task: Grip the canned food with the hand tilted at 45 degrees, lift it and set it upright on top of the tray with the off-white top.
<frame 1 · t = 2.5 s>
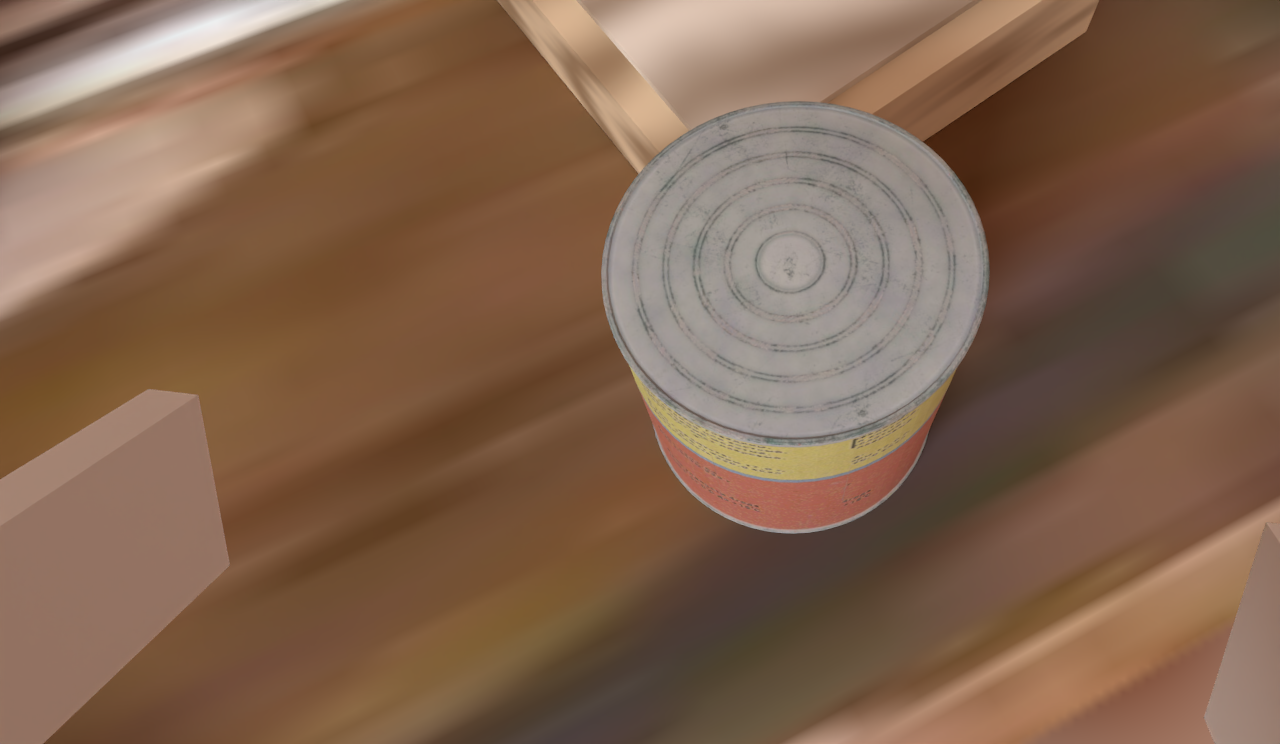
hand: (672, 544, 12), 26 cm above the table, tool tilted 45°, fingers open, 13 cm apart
tray: (771, 11, 47), on the table
canned food: (788, 397, 40), on the table
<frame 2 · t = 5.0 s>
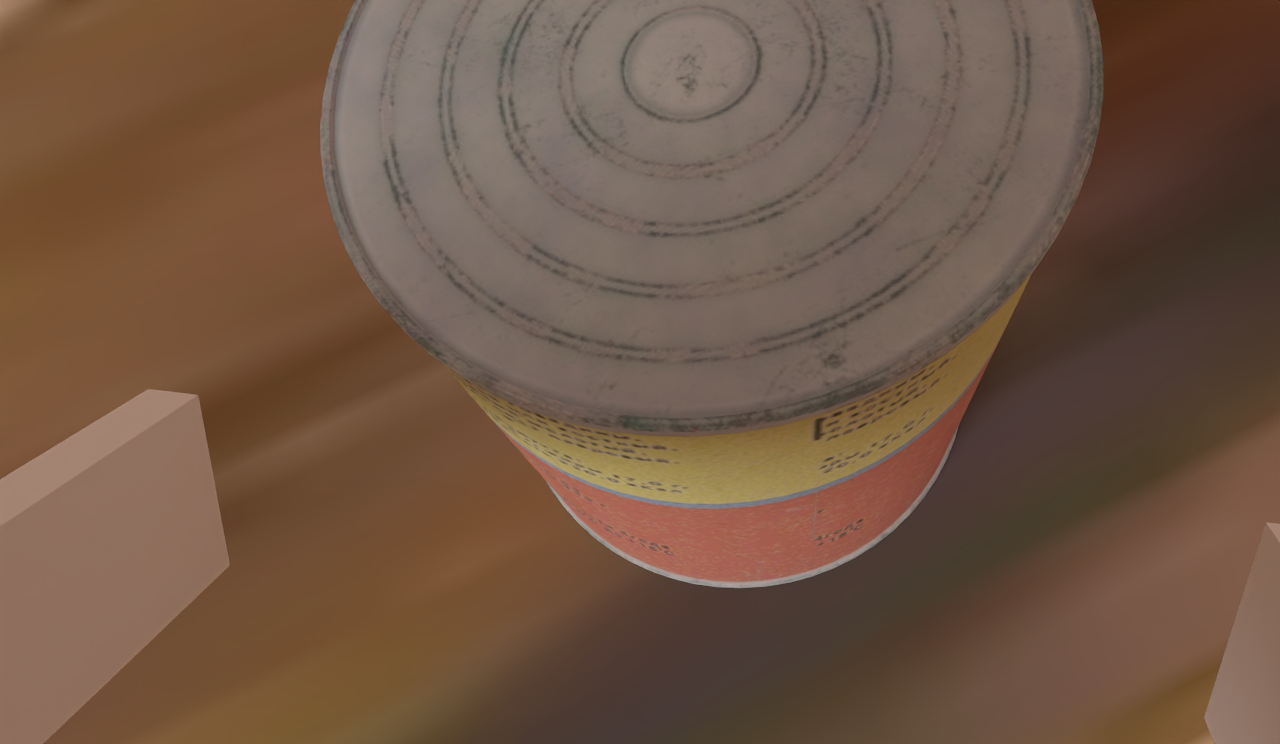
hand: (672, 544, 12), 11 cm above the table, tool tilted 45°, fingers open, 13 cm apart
canned food: (736, 369, 25), on the table
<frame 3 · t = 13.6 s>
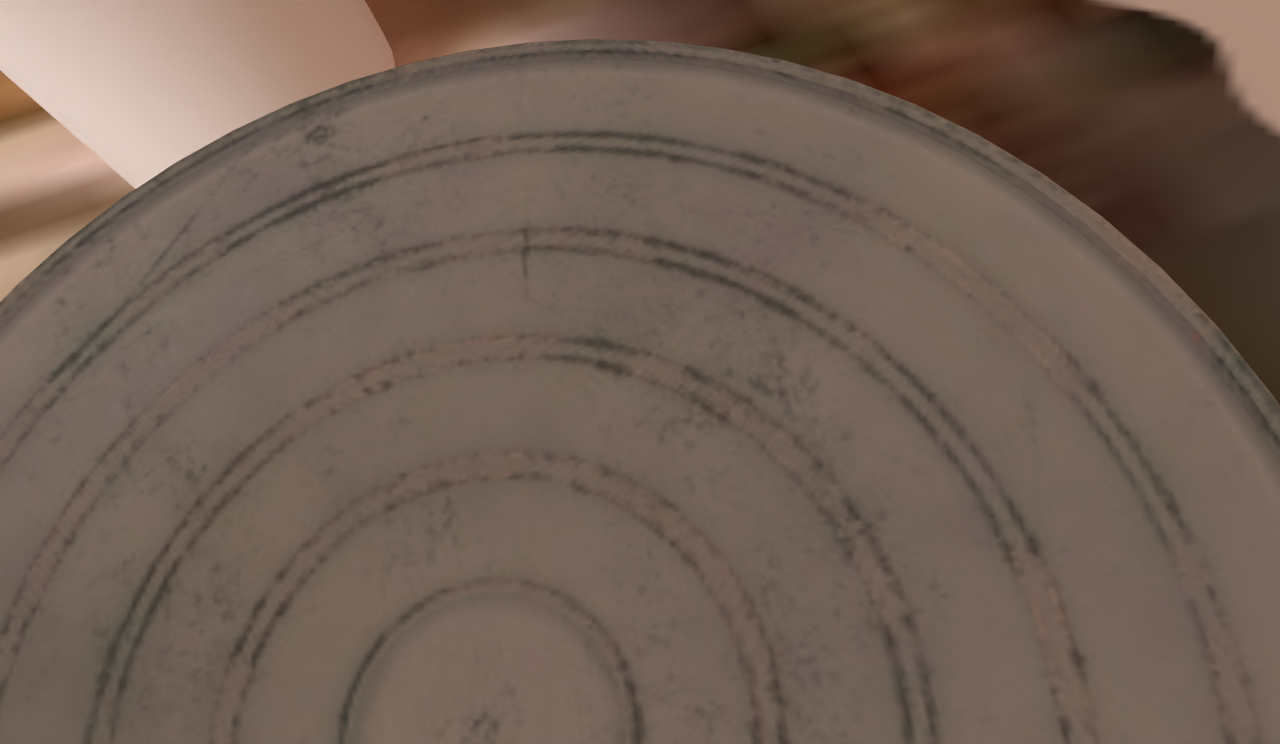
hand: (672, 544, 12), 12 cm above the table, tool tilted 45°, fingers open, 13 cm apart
alcohol: (277, 126, 31), on the table
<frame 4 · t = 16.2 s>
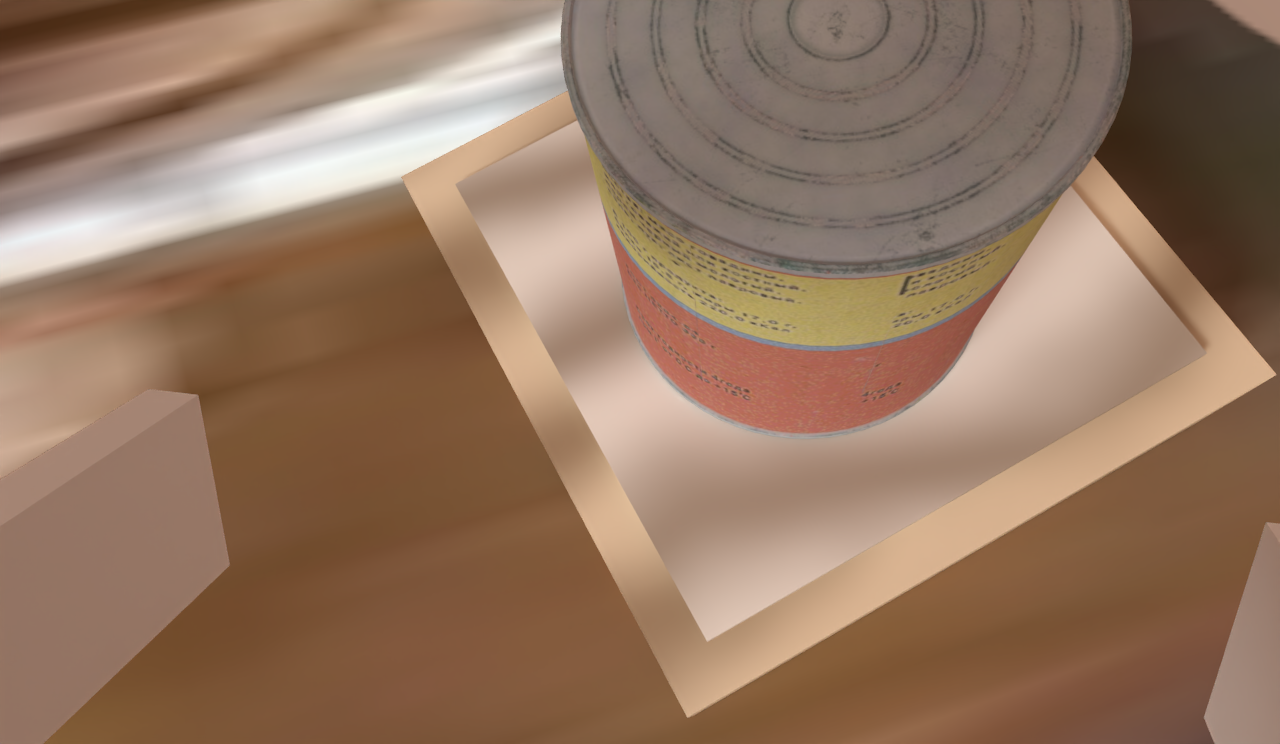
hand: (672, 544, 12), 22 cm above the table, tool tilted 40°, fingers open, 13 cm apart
tray: (795, 324, 36), on the table
canned food: (798, 268, 31), point 5 cm above the table, touching tray
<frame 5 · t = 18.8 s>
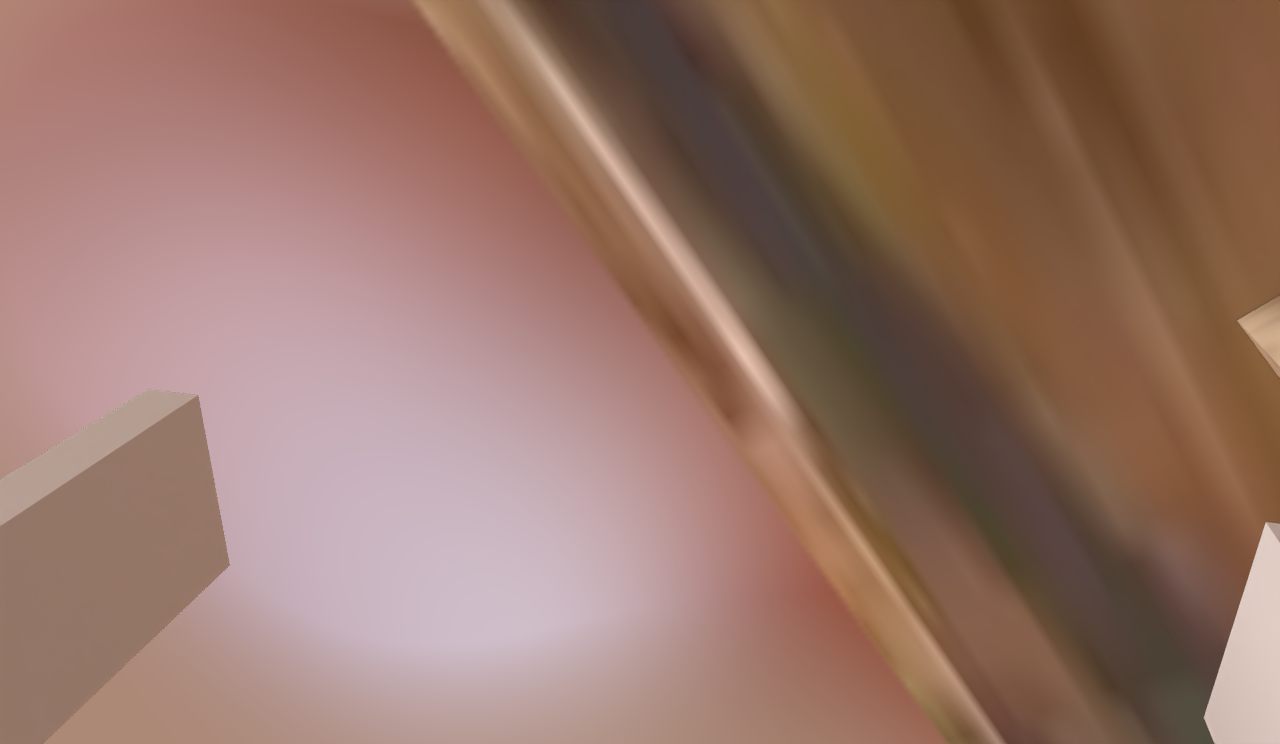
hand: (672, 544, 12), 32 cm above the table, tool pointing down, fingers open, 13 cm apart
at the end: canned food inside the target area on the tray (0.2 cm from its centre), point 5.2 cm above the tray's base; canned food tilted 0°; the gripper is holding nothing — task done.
